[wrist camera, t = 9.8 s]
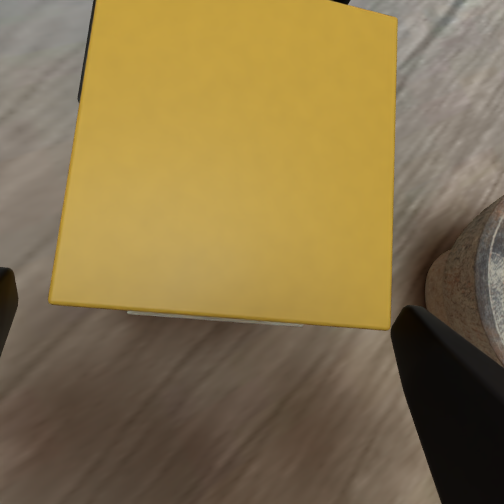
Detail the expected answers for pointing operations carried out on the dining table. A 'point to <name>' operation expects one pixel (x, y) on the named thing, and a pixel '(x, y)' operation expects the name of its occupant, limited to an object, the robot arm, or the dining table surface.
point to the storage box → (233, 164)
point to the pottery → (473, 283)
